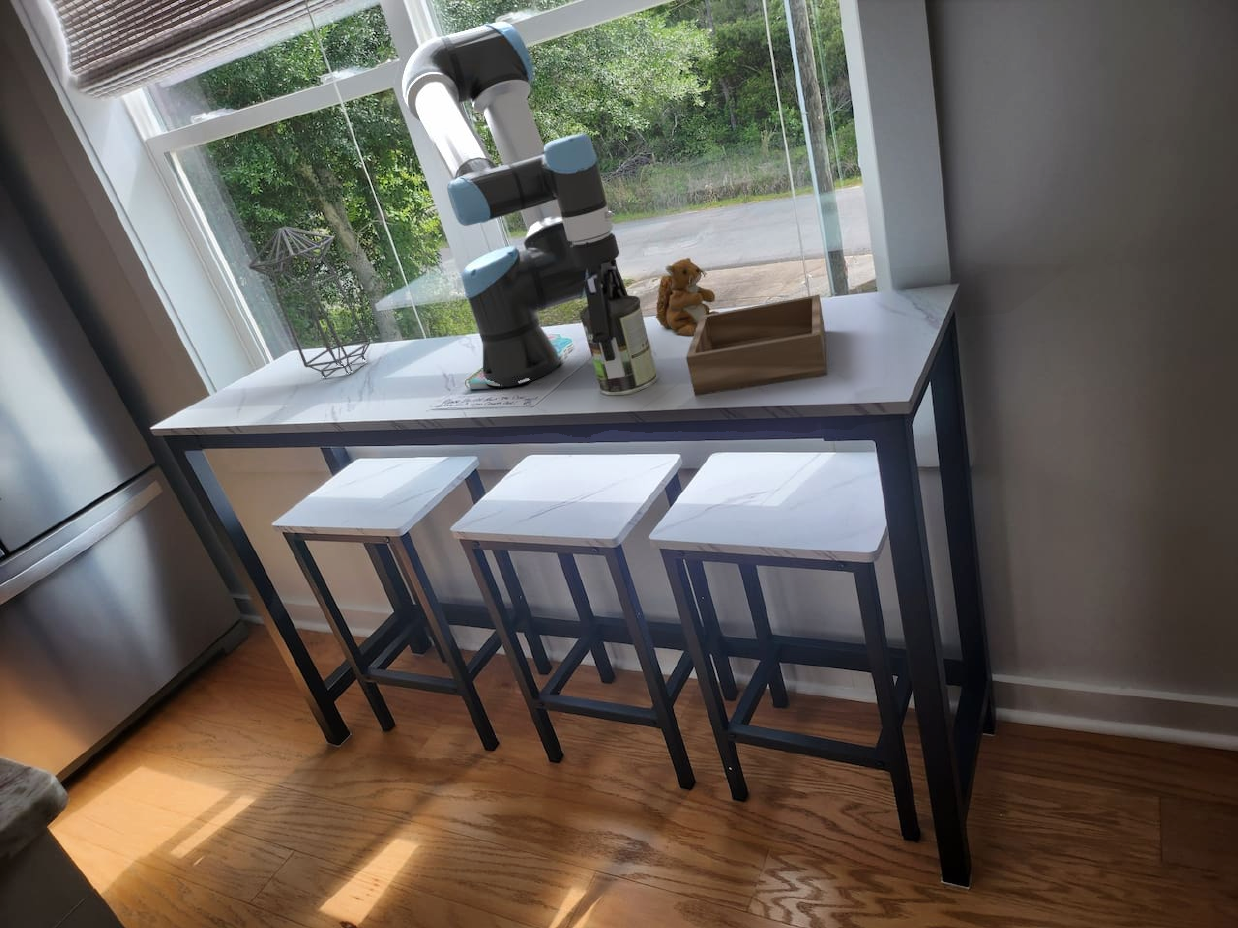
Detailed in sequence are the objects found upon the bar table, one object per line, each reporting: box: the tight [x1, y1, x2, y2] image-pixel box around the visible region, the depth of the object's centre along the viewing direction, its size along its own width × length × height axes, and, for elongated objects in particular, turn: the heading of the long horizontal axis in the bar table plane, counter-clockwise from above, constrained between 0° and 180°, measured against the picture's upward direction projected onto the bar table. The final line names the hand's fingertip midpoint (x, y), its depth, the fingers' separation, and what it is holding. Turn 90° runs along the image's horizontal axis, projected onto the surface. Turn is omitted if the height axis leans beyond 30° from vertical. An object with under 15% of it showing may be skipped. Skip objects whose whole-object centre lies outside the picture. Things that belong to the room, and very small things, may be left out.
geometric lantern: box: [248, 226, 371, 377], centre depth 197 cm, size 16×16×35 cm
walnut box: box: [685, 294, 828, 397], centre depth 139 cm, size 20×20×6 cm
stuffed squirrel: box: [655, 257, 720, 337], centre depth 167 cm, size 10×14×13 cm
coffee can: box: [579, 295, 658, 397], centre depth 144 cm, size 10×10×14 cm
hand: (624, 363), depth 146 cm, fingers open, 12 cm apart
